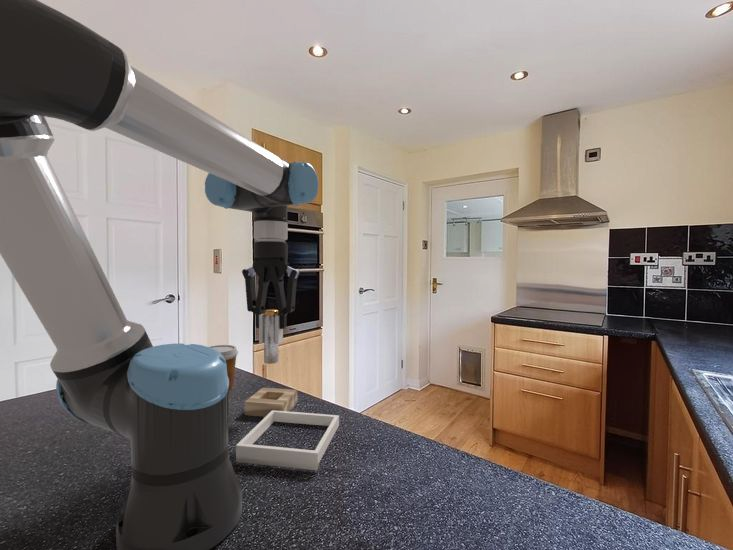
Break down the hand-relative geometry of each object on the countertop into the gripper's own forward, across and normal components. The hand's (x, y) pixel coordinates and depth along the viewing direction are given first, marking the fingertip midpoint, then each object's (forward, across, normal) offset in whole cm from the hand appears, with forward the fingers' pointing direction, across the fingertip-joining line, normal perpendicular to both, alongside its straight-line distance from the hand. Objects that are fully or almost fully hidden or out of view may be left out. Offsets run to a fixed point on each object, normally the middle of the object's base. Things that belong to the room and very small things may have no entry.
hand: (271, 342), depth 83 cm
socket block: (+17, 0, 0) cm, 17 cm away
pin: (+5, 0, 0) cm, 5 cm away
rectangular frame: (+17, -10, +13) cm, 23 cm away
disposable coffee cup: (+17, +19, -9) cm, 27 cm away
